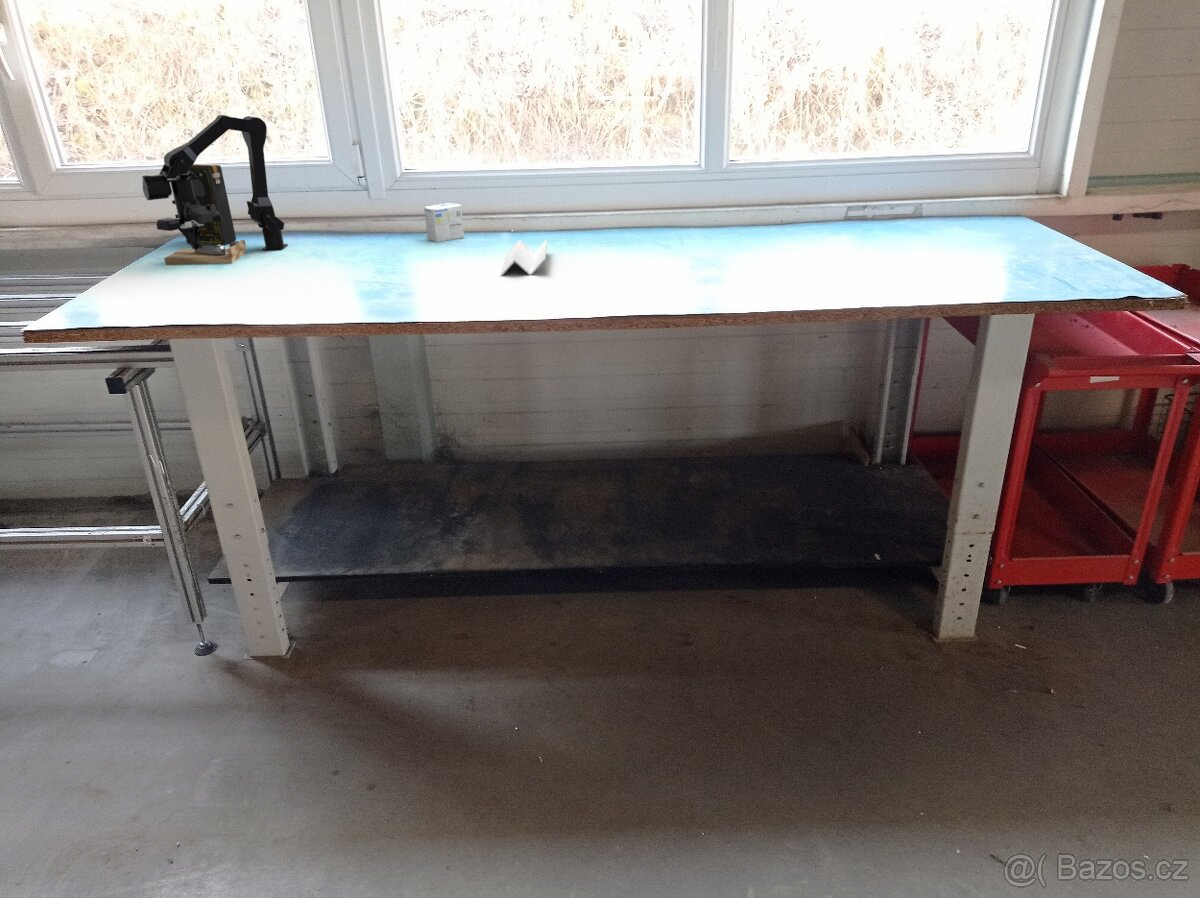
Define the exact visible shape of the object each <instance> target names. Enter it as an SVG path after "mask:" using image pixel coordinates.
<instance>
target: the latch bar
mask: <svg viewBox="0 0 1200 898" xmlns="http://www.w3.org/2000/svg"><path fill="white" fill-rule="evenodd" d="M225 248H226V247H225V246H224V245H221V244H218V245H215V244H205V243H199V245H198V249H194V248H193V249H194V250H195V253H204V254H214V255H224V254H226V252H225Z"/></svg>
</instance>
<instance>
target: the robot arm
mask: <svg viewBox="0 0 1200 898" xmlns="http://www.w3.org/2000/svg"><path fill="white" fill-rule="evenodd" d="M229 130H230V131H237V132H241V134H242V138H243V141H244V142H245V144H246V145H245V146H246V147H247V153H248V162H249V171H250V181H251V191H252V197H251V201H249V200H247V201H246V206H247V215H249V216H250V220H251V221H253V222H254V223H255V224H257V225H258V227H259V229H261V231H262V235H263V241H264V246H263V247H262V248H261V250H262V251H276V250H278V251H279V250H283V249H285V248H286V247H287V246H289V244H288V243H284V242H285V241H284V238H283V232H282V231H284V228H285V222H284V221H282V220H281V219H279V218H278V217H277V216H276V213H275V209H274V207H273V203H272V201H271V199H270V197H269V191H268V190H269V189H268V183H267V182H268V181H267V171H266V161H265V152H264V150H265V149H264V148H265V143H266V140H267V130H268V129H267V124H266V122H265V121H264V120H263V119H261V118H260V117H255V116H250V115H249V116H248V115H247V116H244V117H243V118H239V117H232V116H228V115H226V114H219V115H217V116H216V118H215V119H213V120H212V121H211V122H210V123H209V124H208V125H206V126H205V127H204V128H203V129H202V130H200V132H198V133H197V134H196V135H195V136H193V137H192V138H191V139H190V140H189V141H188V142H186V143H184V144H182V145H179V146H178V147H177V146H176V148H173V149H171V150H169V152H168V151H167V153H165V155H164V157H163V162H164V164H163V166H162V168H161V169H160V172H159V174H156V175H154V174H153V175H145V174H144V175H142V177H141V178H142V187H141V189H142V192H143V194H144V197H145V199H146V201H154V200H162V199H163V200H165V199H169V198H170V196H172V195H173V199H172V200H171V202H172V205H175V209H176V212H177V213H176V214H174V216H175V218H171V217H166V218H161V219H157V221H156V227H157V230H158V231H159V230H160V231H167V232H168V231H169V232H170V231H171V232H172V231H176V230H178V231H179V232H180V233H181V234H182V235H183V236H184V237H185V239H187V240H188V241H189V243H190V244H189V245H190V246H191V247H192V249H198V245H199V239H200V234H201V230H202V229H203V228H204V227H206V226H207V225H206V224H204V223H207V222H209V223H210V222H212V221H213V222H217V221H221V220H222V217H221V214H220V213H219V212H218V211H216V208H215V206H214V205H213V204H209V205H206V206H201V205H200V201H199V199H195V194H194V190H193V185H192V180H196V179H199V177H197V176H196V175H194V174H193V173H192V172H191V171H188V170H189V169H190V168H191V166H192V165H195V163H196V160H197V158H198V157H199V156H200V154H202V153H203V151H205V150H206V149H207V148H209V147H210V146H211V145H212V144H213V143H215V142H216V141H217V140H218V139H220V137H222V136H223V135H224V134H225V133H226V132H227V131H229ZM187 171H188V173H187V174H183V173H186V172H187ZM180 173H182V174H181V175H179V174H180ZM175 177H176V178H175ZM172 178H174V179H172Z"/></svg>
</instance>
